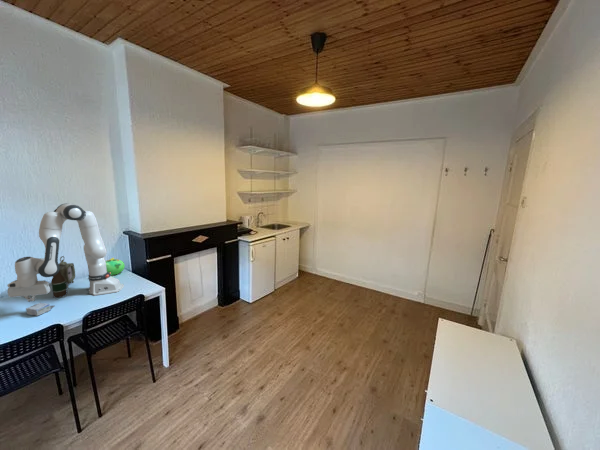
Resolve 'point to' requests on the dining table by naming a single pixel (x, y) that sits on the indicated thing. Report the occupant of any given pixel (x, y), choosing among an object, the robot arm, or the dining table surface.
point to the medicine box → (38, 309)
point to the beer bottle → (59, 285)
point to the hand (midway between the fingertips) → (31, 301)
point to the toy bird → (114, 266)
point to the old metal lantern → (67, 271)
